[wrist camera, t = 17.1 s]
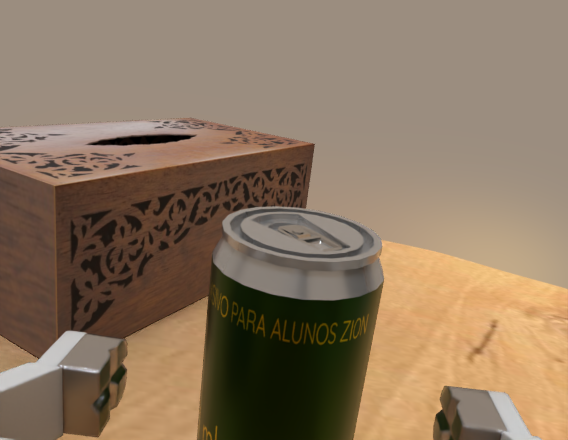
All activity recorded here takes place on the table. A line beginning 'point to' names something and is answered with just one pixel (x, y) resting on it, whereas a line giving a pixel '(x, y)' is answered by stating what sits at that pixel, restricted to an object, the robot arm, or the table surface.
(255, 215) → the beer can
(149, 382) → the table surface
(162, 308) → the tissue box cover
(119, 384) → the robot arm
